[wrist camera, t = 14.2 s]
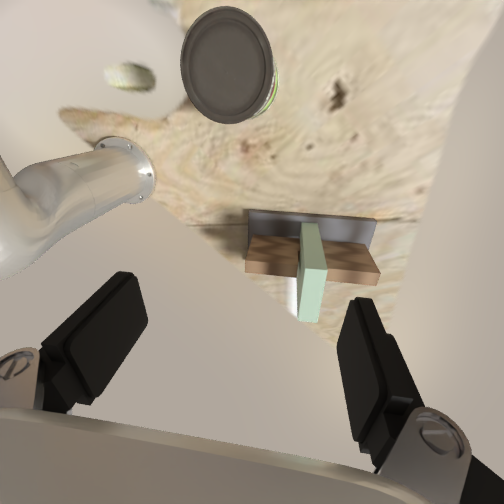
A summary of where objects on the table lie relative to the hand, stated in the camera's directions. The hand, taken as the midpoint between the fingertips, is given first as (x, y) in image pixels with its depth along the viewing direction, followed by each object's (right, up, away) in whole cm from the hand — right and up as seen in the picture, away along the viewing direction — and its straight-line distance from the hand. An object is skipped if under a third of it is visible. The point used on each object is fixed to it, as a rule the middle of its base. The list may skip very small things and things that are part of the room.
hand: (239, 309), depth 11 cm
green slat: (+12, +4, +39) cm, 41 cm away
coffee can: (0, +29, +28) cm, 40 cm away
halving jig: (+12, +5, +40) cm, 42 cm away
